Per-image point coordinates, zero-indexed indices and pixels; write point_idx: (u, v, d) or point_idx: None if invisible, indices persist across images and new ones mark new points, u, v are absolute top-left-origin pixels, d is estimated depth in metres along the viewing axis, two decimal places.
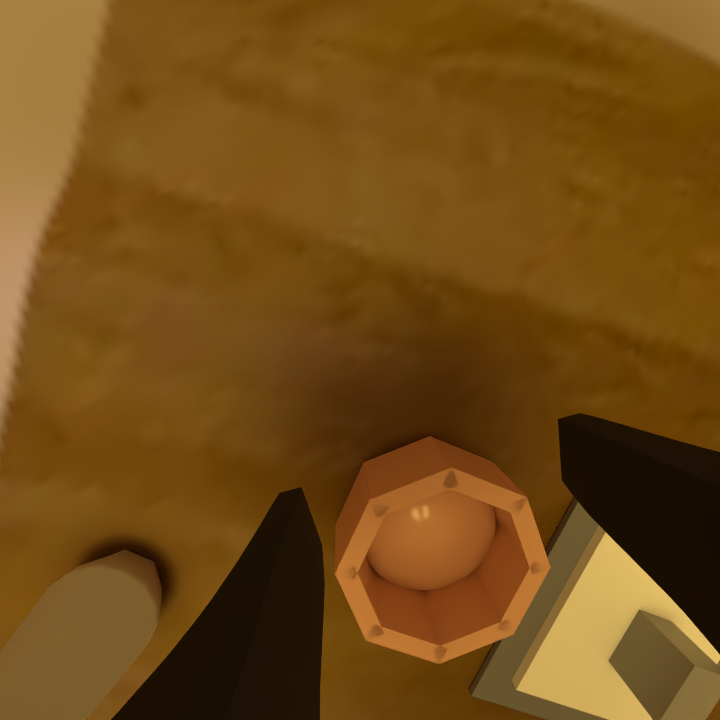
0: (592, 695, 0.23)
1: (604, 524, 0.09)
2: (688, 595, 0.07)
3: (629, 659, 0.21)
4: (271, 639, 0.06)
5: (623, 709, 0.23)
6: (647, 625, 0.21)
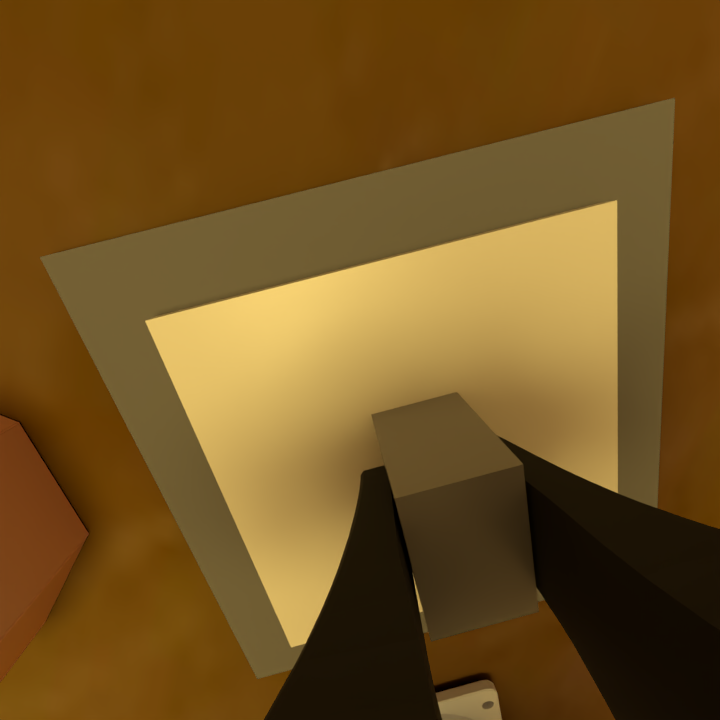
0: None
1: None
2: (573, 627, 0.07)
3: None
4: (410, 601, 0.06)
5: None
6: None
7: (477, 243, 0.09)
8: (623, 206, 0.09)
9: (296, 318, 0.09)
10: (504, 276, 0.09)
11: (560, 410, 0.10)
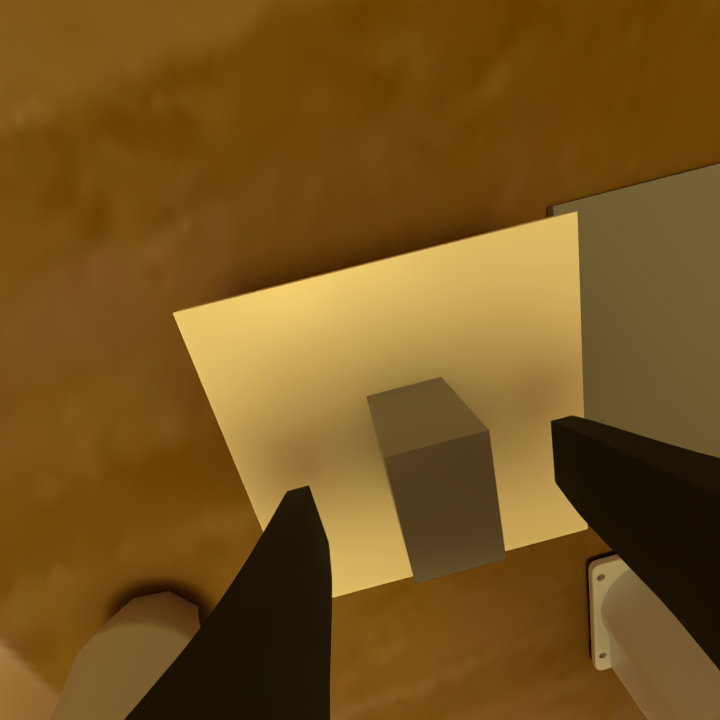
0: None
1: (596, 526, 0.09)
2: (678, 598, 0.07)
3: (388, 483, 0.11)
4: (284, 636, 0.06)
5: None
6: None
7: (457, 247, 0.10)
8: None
9: (302, 311, 0.10)
10: (481, 276, 0.11)
11: (532, 394, 0.12)
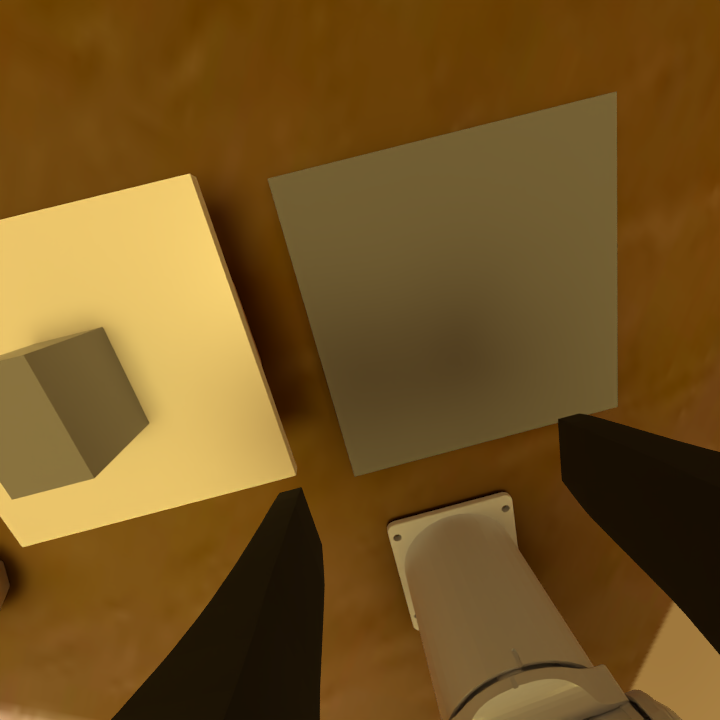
0: (125, 491, 0.15)
1: (604, 524, 0.09)
2: (688, 595, 0.07)
3: None
4: (271, 639, 0.06)
5: (189, 481, 0.15)
6: None
7: (82, 205, 0.11)
8: (589, 153, 0.16)
9: None
10: (113, 232, 0.12)
11: (199, 344, 0.13)
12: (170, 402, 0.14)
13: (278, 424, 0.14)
